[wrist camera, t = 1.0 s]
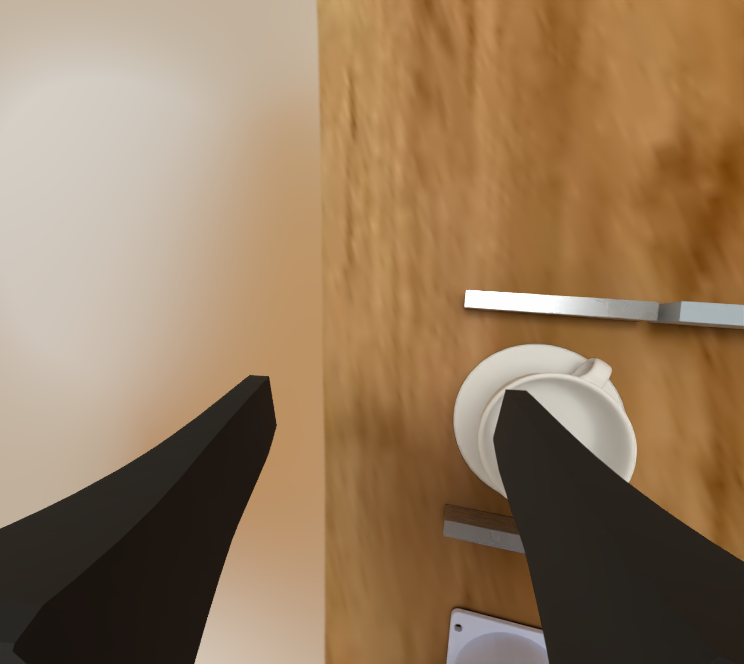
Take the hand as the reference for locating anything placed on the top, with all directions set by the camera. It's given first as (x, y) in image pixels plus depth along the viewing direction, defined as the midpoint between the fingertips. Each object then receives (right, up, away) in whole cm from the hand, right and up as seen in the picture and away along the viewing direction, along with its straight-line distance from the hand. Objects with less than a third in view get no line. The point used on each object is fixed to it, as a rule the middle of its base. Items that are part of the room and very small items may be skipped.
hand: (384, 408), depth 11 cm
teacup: (+10, -3, +12) cm, 16 cm away
